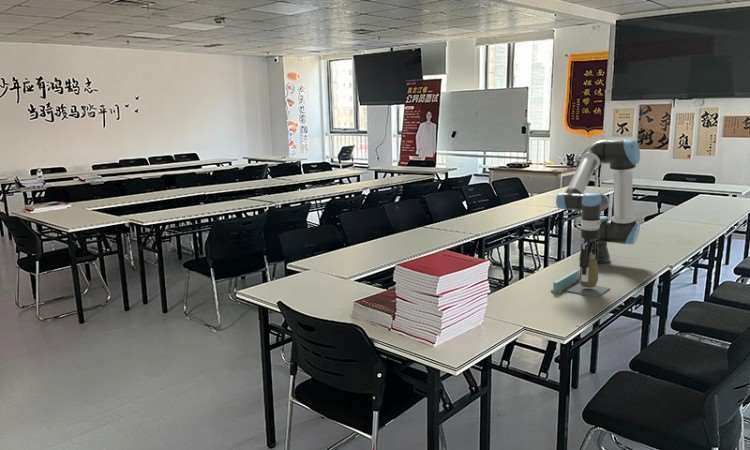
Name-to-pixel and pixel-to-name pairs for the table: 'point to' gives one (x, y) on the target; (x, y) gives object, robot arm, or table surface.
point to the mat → (588, 290)
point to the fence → (565, 282)
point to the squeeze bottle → (590, 273)
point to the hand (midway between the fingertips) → (588, 278)
